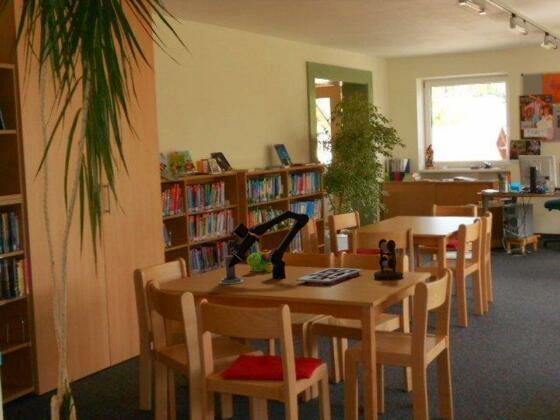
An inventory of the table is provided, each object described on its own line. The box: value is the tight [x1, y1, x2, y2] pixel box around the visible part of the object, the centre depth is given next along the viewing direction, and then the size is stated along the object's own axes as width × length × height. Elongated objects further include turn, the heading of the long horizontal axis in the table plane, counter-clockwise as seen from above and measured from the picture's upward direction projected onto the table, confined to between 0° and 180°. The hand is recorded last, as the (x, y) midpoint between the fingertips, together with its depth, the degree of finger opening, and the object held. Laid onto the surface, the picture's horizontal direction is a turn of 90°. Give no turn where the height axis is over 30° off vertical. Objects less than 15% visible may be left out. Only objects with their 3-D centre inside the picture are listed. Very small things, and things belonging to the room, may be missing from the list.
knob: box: [224, 255, 237, 279], centre depth 419 cm, size 5×5×12 cm
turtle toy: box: [246, 249, 273, 273], centre depth 452 cm, size 17×23×12 cm
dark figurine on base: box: [373, 238, 404, 281], centre depth 404 cm, size 15×15×20 cm
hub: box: [218, 276, 244, 286], centre depth 420 cm, size 13×13×2 cm
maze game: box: [295, 267, 363, 286], centre depth 411 cm, size 35×20×3 cm, turn 146°
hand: (227, 266), depth 419 cm, fingers closed on knob, 5 cm apart
